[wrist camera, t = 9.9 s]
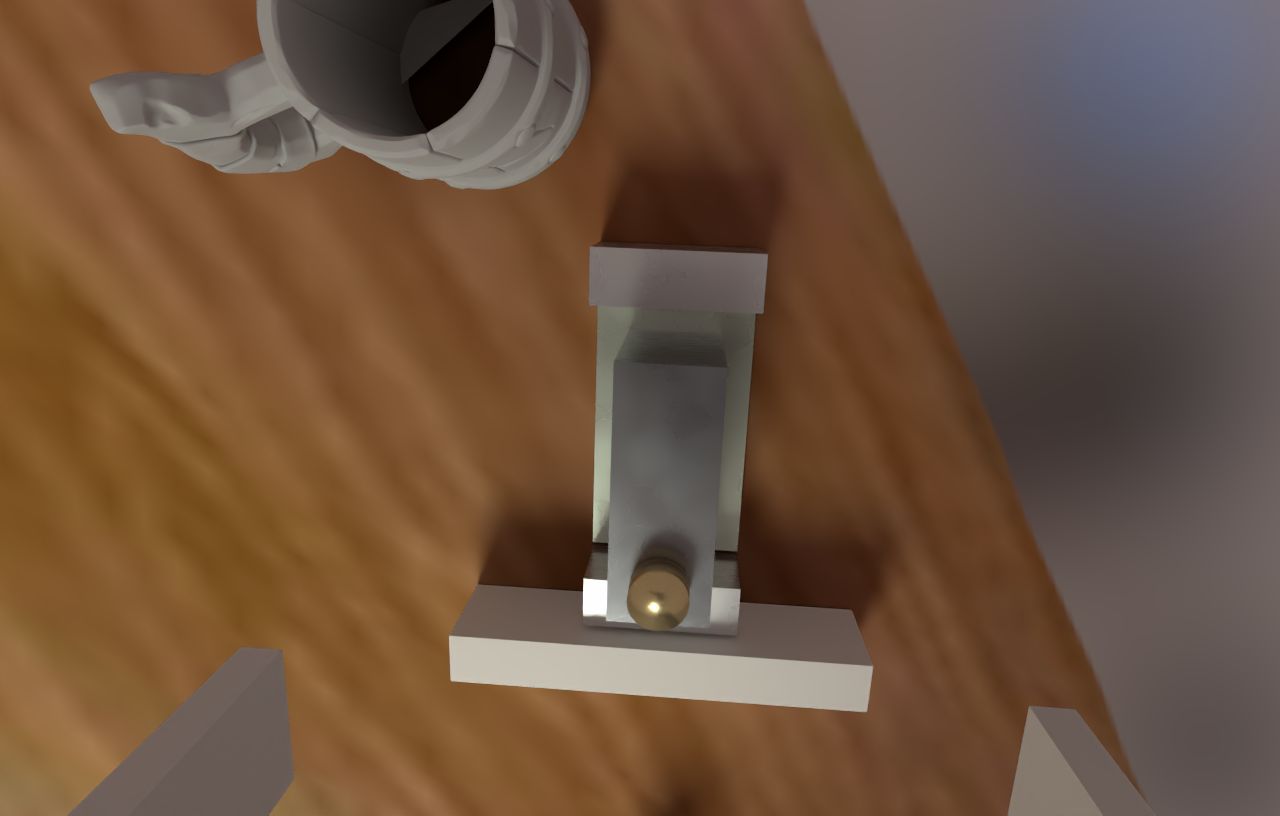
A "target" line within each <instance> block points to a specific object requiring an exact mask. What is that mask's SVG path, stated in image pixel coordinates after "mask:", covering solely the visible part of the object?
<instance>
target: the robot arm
mask: <svg viewBox="0 0 1280 816" xmlns="http://www.w3.org/2000/svg"><path fill="white" fill-rule="evenodd" d="M293 780H294V770H293V759H292V749H291V738H290V727H289V716H288V706H287V695H286V684H285V673H284V663H283V652H282V650H275V649H262V648H249V647H241V648H240V649H239V650H238V651H237V652H235V653H234V654H233V655H232V656H231V657H230V658H229V659H228V660H227V661H226V662H225V663H224V664H223V665H222V666H221V667H220V668H219V669H218V670H217V671H216V672H215V673H214V674H213V675H212V676H211V677H210V678H209V679H208V680H207V681H206V682H205V683H204V684H202V685H201V686H200V687H199V688H198V689H197V690H196V691H195V692H194V693H193V694H192V695H191V696H190V697H189V698H188V699H187V700H186V701H185V702H184V703H183V704H182V705H181V706H180V707H179V708H178V709H177V710H176V711H175V712H174V713H173V714H172V715H170V716H169V717H168V718H167V719H166V720H165V721H164V722H163V723H162V724H161V725H160V726H159V727H158V728H157V729H156V730H155V731H154V732H153V733H152V734H151V735H150V736H149V737H148V738H147V739H146V740H145V741H144V742H143V743H142V744H141V745H140V746H138V747H137V748H136V749H135V750H134V751H133V752H132V753H131V754H130V755H129V756H128V757H127V758H126V759H125V760H124V761H123V762H122V763H121V764H120V765H119V766H118V767H117V768H116V769H115V770H114V771H113V772H112V773H111V774H110V775H109V776H108V777H107V778H105V779H104V780H103V781H102V782H101V783H100V784H99V785H98V786H97V787H96V788H95V789H94V790H93V791H92V792H91V793H90V794H89V795H88V796H87V797H86V798H85V799H84V800H83V801H82V802H81V803H80V804H79V805H78V806H77V807H76V808H75V809H73V810H72V811H71V812H70V813H69V814H68V815H67V816H268V815H269V814H270V813H271V811H272V810H273V808H274V807H275V805H276V804H277V803H278V801H279V800H280V798H281V797H282V795H283V794H284V793H285V791H286V790H287V788H288V787H289V785H290V784H291V783H292V781H293ZM1008 816H1156V815H1155V813H1154V812H1153V811H1152V809H1151V808H1150V807H1149V805H1148V804H1147V803H1146V801H1145V800H1144V799H1143V798H1142V796H1141V795H1140V794H1139V792H1138V791H1137V790H1136V788H1135V787H1134V786H1133V784H1132V783H1131V782H1130V780H1129V779H1128V778H1127V777H1126V775H1125V774H1124V773H1123V771H1122V770H1121V769H1120V767H1119V766H1118V765H1117V763H1116V762H1115V761H1114V759H1113V758H1112V757H1111V756H1110V754H1109V753H1108V752H1107V750H1106V749H1105V748H1104V746H1103V745H1102V744H1101V742H1100V741H1099V740H1098V738H1097V737H1096V736H1095V734H1094V733H1093V732H1092V731H1091V729H1090V728H1089V727H1088V725H1087V724H1086V723H1085V721H1084V720H1083V719H1082V717H1081V716H1080V715H1079V713H1078V712H1077V711H1076V710H1075V709H1065V708H1052V707H1038V706H1029V709H1028V714H1027V719H1026V724H1025V729H1024V734H1023V739H1022V745H1021V750H1020V755H1019V760H1018V765H1017V770H1016V775H1015V780H1014V785H1013V790H1012V796H1011V801H1010V806H1009V811H1008Z"/></svg>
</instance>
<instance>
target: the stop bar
mask: <svg viewBox="0 0 1280 816" xmlns="http://www.w3.org/2000/svg"><path fill="white" fill-rule="evenodd" d="M727 371H728V367H727V362H726V357H725V352H724V347H723V342H722V337H721V334H718V333H697V332H677V331H656V330H636V329H629V331H628V333H627V335H626V337H625V339H624V342H623V344H622V346H621V348H620V350H619V352H618V354H617V356H616V358H615V360H614V368H613V402H612V437H611V472H610V506H609V541H608V576H607V610H606V621H613V622H627V623H637V624H639V625H640V626H642V627H643V628H646V629H648V630H652V631H666V630H670V629H672V628H674V627H676V626H684V627H698V628H709V626H710V612H711V598H712V584H713V570H714V555H715V541H716V527H717V513H718V499H719V485H720V470H721V456H722V442H723V428H724V414H725V400H726V385H727Z"/></svg>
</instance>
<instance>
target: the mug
mask: <svg viewBox="0 0 1280 816" xmlns="http://www.w3.org/2000/svg"><path fill="white" fill-rule="evenodd" d="M443 1H444V0H257V22H258V29H259V35H260V39H261V43H262V47H263V51H264V52H262V53H260V54H258V55H256V56H253V57H251V58H248V59H246V60H243V61H241V62H239V63H236V64H234V65H232V66H230V67H228V68H226V69H224V70H222V71H220V72H217V73H214V74H210V75H202V74H177V73H166V72H129V73H123V74H115V75H112V76H108V77H106V78H103V79H100V80H97V81H95V82H93V83H91V84H90V91H91V93H92V95H93V97H94V99H95V101H96V103H97V105H98V106H99V108H100V110H101V112H102V114H103V116H104V118H105V119H106V121H107V123H108V124H109V126H110V127H111V128H112V129H113V130H114V131H116V132H118V133H121V134H139V135H147V136H151V137H154V138H158V139H159V141H160V142H162V143H163V144H166V145H170V146H173V147H175V148H178V149H180V150H181V151H183V152H184V153H186V154H188V155H189V156H191V157H193V158H195V159H197V160H201V161H203V162H206V163H209V164H211V165H212V166H213V167H214V168H216V169H217V170H219V171H221V172H226V173H246V174H253V173H264V172H289V171H296V170H299V169H301V168H303V167H305V166H306V165H308V164H309V163H311V162H314V161H317V160H321V159H324V158H327V157H330V156H332V155H334V154H335V153H336V151H337V150H338V149H339V148H340V147H342V146H345V147H347V148H349V149H351V150H354V151H356V152H359V153H362V154H365V155H366V156H368V157H369V158H371V159H372V160H374V161H376V162H378V163H380V164H382V165H384V166H386V167H388V168H390V169H392V170H394V171H398V172H399V173H400V174H402V175H404V176H407V177H410V178H413V179H418V180H423V179H426V178H428V179H433V178H437V179H439V180H441V181H445V182H446V183H447V184H448V185H450V186H452V187H455V188H460V189H466V188H473V189H499V188H504V187H508V186H512V185H516V184H519V183H522V182H524V181H526V180H528V179H531V178H532V177H534V176H536V175H538V174H539V173H541V172H542V171H544V170H545V169H546V168H548V167H549V166H550V165H551V164H553V163H554V162H555V161H556V160H557V159H559V158H560V157H561V156H562V155H563V153H564V151H565V150H566V148H567V147H568V146H569V144H570V143H571V141H572V140H573V138H574V136H575V134H576V133H577V131H578V128H579V126H580V124H581V121H582V119H583V116H584V113H585V110H586V106H587V102H588V97H589V91H590V58H589V52H588V39H587V37H586V34H585V31H584V29H583V27H582V26H581V24H580V21H579V19H578V17H577V15H576V13H575V11H574V9H573V7H572V5H571V3H570V2H569V0H451V1H448V2H445V3H442V4H440V3H441V2H443ZM491 2H493V4H494V12H495V44H496V46H495V47H494V49H493V51H492V55H491V58H490V61H489V65H488V67H487V70H486V73H485V75H484V77H483V79H482V81H481V83H480V85H479V87H478V88H477V90H476V92H475V93H474V94H473V96H472V97H471V99H470V100H469V101H468V102H467V103H466V105H465V106H464V107H463V108H462V109H461V110H460V111H459V112H458V113H457V114H455V115H454V116H453V117H452V118H450V119H449V120H448V121H446V122H445V123H443V124H441V125H440V126H438V127H436V128H434V129H432V130H430V131H428V130H427V129H426V128H425V126H424V125H423V123H422V122H421V120H420V118H419V116H418V114H417V112H416V110H415V107H414V104H413V102H412V98H411V94H410V89H409V78H410V77H411V76H412V75H413V74H414V73H415V72H416V71H417V70H418V69H419V68H421V67H422V66H423V65H424V64H425V63H426V62H427V61H428V60H429V59H430V58H431V57H433V56H434V55H435V54H436V53H437V52H438V51H439V50H440V49H441V48H442V47H443V46H445V45H446V44H447V43H448V42H449V41H450V40H451V39H452V38H453V37H454V36H455V35H457V34H458V33H459V32H460V31H461V30H462V29H463V28H464V27H465V26H466V25H467V24H469V23H470V22H471V21H472V20H473V19H474V18H475V17H476V16H477V15H478V14H479V13H481V12H482V11H483V10H484V9H485V8H486V7H487V6H488V5H489V4H490V3H491Z"/></svg>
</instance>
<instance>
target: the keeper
mask: <svg viewBox="0 0 1280 816" xmlns="http://www.w3.org/2000/svg"><path fill="white" fill-rule="evenodd" d="M767 262H768V254H767V253H766V252H765V251H763V250H762V249H761V248H742V247H719V246H695V245H672V244H648V243H625V242H601V241H600V242H598V243H596V244H594V245H592V246H590V271H589V306H598V328H597V372H596V417H595V461H594V506H593V542H600V543H608V541H609V506H610V472H611V437H612V402H613V368H614V360H615V358H616V356H617V354H618V352H619V350H620V348H621V346H622V344H623V342H624V339H625V337H626V335H627V333H628V331H629V329H636V330H656V331H677V332H697V333H718V334H721V337H722V342H723V347H724V352H725V357H726V362H727V367H728V371H727V385H726V400H725V414H724V428H723V442H722V456H721V470H720V485H719V499H718V513H717V527H716V541H715V550H724V551H737V548H738V535H739V523H740V510H741V497H742V485H743V472H744V459H745V447H746V434H747V422H748V409H749V396H750V384H751V371H752V359H753V346H754V333H755V321H756V313H758V314H763V311H764V298H765V286H766V274H767ZM607 576H608V545H596V544H593V548H592V551H591V555H590V558H589V562H588V565H587V569H586V572H585V576H584V583H583V625H591V626H605V627H619V628H633V629H646V628H643V627H642V626H640V625H639V624H637V623H627V622H613V621H606V610H607ZM740 592H741V588H740V579H739V571H738V563H737V554H735V553H720V552H715V555H714V570H713V584H712V598H711V612H710V626H709V628H698V627H684V626H676V627H674V628H672V629H670V630H666V631H676V632H690V633H704V634H718V635H733V636H737V628H738V616H739V604H740ZM647 630H648V629H647Z"/></svg>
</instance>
